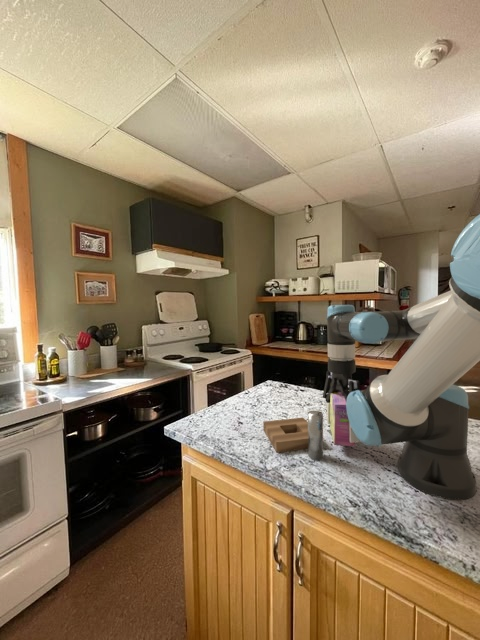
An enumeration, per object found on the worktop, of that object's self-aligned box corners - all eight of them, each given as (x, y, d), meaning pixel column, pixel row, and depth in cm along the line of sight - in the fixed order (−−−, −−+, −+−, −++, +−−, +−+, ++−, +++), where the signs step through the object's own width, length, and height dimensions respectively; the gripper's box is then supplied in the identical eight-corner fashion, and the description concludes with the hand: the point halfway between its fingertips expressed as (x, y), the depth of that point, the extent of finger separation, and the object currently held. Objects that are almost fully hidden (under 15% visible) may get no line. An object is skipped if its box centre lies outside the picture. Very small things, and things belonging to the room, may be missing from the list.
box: (356, 447, 77) (356, 405, 76) (334, 445, 78) (334, 404, 77) (349, 429, 87) (349, 392, 86) (329, 428, 88) (329, 391, 87)
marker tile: (354, 437, 87) (354, 435, 87) (336, 439, 86) (336, 437, 86) (343, 428, 93) (343, 427, 93) (326, 430, 92) (326, 429, 92)
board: (322, 446, 82) (322, 436, 82) (276, 452, 79) (276, 442, 79) (303, 426, 96) (303, 417, 95) (263, 430, 93) (263, 421, 93)
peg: (325, 458, 76) (325, 415, 75) (312, 460, 75) (311, 416, 74) (319, 451, 80) (318, 409, 79) (305, 452, 79) (305, 411, 78)
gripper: (381, 365, 70) (381, 450, 71) (332, 351, 94) (333, 415, 95) (353, 367, 69) (354, 454, 70) (311, 352, 92) (312, 417, 93)
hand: (342, 431), depth 82 cm, fingers closed on box, 12 cm apart
